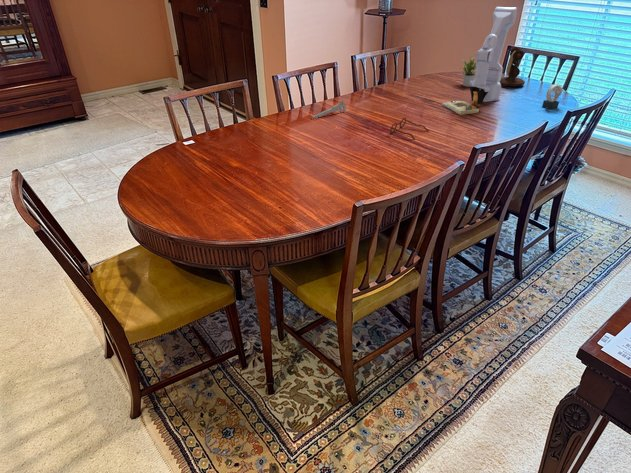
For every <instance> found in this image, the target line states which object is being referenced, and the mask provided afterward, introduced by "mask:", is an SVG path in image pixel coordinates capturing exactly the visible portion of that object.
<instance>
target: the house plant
mask: <svg viewBox="0 0 631 473" xmlns="http://www.w3.org/2000/svg"><path fill="white" fill-rule="evenodd" d="M462 62H463V65H464V67H461V68H460V70H462V71H464V73H463V74H462V86H463V87H468V88H469V87H472V85H470V81H474V79H475V73H474V71H476V67H477V65H476V62H475V56H473V57H472V58H471V57H469V61H468V62H466V60H465V59H464V58H462Z"/></svg>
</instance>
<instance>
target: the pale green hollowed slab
mask: <svg viewBox="0 0 631 473" xmlns="http://www.w3.org/2000/svg"><path fill="white" fill-rule="evenodd" d="M441 105H442V106H443V107H445V108H447V109H448V110H450V111H452V112H454V113H456V114H458V115H460V116H462V115H463V116H464V115H469V114H478V113H479V110H480V107H475V106H473V105H472V103H468V102H466V101H461V100H450V101H446V102H442V104H441Z"/></svg>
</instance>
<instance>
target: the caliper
mask: <svg viewBox="0 0 631 473" xmlns="http://www.w3.org/2000/svg"><path fill="white" fill-rule="evenodd" d="M338 111H339V112H340V113H341V112H343V113H345V112H346V103H345V102H344V100H341V101H339V103H338V104H336V105H333V106H332V107H330V108H328V109H326V110H324V111H322V112H319V113H317V114H315V115H313V116H312V117H311V118H312V120H314V119H313V118H316V119H319V118H320V117H323V116H326V115H328V114H330V113H332V112H333V113H335V112H338ZM318 117H319V118H318Z"/></svg>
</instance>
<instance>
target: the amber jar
mask: <svg viewBox="0 0 631 473" xmlns="http://www.w3.org/2000/svg"><path fill="white" fill-rule="evenodd" d="M473 93H474V97H473V101H472V103H471V105H473V106H475V107H477V108H480V107H481V105H482V104H477V100H478V94H477V90H474V91H473Z"/></svg>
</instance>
